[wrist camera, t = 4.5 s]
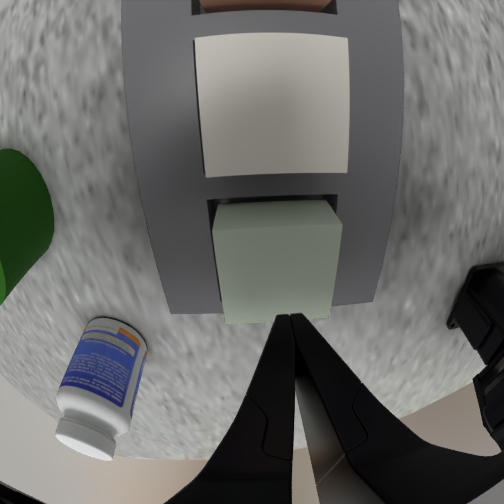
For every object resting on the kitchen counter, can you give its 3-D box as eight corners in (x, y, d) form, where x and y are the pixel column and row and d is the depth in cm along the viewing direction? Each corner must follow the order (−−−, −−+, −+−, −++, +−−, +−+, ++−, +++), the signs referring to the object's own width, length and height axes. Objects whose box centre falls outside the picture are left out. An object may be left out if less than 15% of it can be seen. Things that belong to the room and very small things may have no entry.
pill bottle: (76, 316, 18) (27, 420, 10) (131, 313, 18) (88, 439, 10) (106, 360, 21) (76, 455, 13) (159, 360, 21) (137, 470, 13)
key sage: (325, 199, 12) (342, 224, 10) (318, 284, 14) (329, 317, 12) (218, 204, 12) (211, 230, 10) (227, 290, 14) (225, 324, 12)
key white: (326, 48, 8) (347, 38, 6) (327, 157, 11) (347, 172, 9) (205, 49, 8) (194, 38, 6) (213, 160, 11) (205, 177, 9)
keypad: (362, -54, 6) (381, -72, 4) (358, 274, 17) (372, 301, 14) (144, -51, 6) (127, -70, 4) (179, 284, 17) (170, 313, 14)
